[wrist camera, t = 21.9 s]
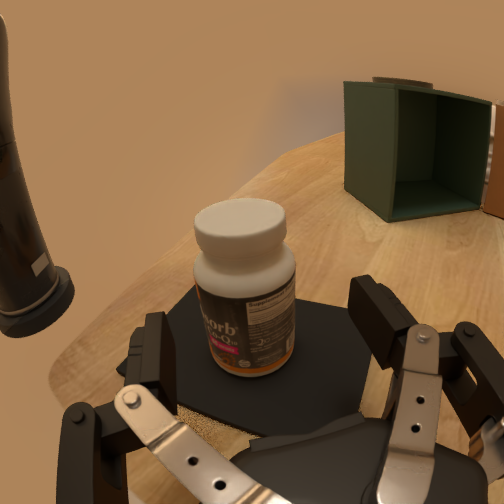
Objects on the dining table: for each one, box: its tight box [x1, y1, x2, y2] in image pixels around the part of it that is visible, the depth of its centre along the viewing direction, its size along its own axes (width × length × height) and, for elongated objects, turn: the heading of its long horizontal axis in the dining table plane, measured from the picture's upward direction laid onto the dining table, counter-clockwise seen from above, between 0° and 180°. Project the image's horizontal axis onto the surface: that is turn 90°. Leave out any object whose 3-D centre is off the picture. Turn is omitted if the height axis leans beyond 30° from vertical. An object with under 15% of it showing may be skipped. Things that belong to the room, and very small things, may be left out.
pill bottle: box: [193, 198, 296, 377], centre depth 18 cm, size 6×6×10 cm
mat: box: [116, 285, 372, 437], centre depth 21 cm, size 16×12×1 cm
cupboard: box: [343, 81, 492, 223], centre depth 39 cm, size 13×19×17 cm
